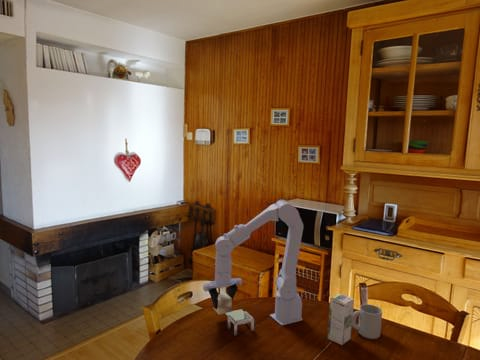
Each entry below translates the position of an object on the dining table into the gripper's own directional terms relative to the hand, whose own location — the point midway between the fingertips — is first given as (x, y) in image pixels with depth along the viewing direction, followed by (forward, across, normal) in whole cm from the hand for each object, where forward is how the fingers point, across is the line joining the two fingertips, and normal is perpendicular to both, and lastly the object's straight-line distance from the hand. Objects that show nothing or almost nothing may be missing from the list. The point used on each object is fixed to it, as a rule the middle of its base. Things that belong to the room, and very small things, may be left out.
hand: (222, 306), depth 127 cm
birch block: (+2, 0, 0) cm, 2 cm away
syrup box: (+6, -30, +28) cm, 42 cm away
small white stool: (+5, -3, +8) cm, 10 cm away
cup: (+6, -41, +29) cm, 51 cm away
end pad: (+5, -6, 0) cm, 8 cm away
